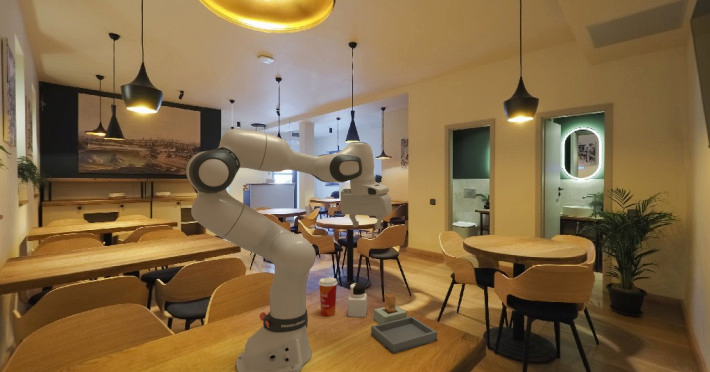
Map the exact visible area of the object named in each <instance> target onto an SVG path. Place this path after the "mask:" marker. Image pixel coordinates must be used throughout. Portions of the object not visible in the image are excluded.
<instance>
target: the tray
mask: <svg viewBox="0 0 710 372" xmlns="http://www.w3.org/2000/svg"><path fill="white" fill-rule="evenodd" d="M370 331H371V332H370V333H371V334H370V335H371V336H372V337H374V339H376V340H377V341H378V342H379V344H381V345H383V346H384V348H386V349H387V350H388V351H390V353H392V354H393V355H395V354H398V353H402V352H405V351H408V350H411V349H414V348H417V347H420V346H424V345H427V344H431V343H434V342H436V341H438V331H436V330H435V329H434V328H432V327H430V326H428V325H426V324H425V323H424V322H422V321H420V320H419V319H417V318H416V317H414V316H412V315H411V316H407V317H406V318H402V319H398V320H394V321H390V322H386V323H382V324H379V323H378V324H375V325H371V326H370Z"/></svg>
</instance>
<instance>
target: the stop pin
mask: <svg viewBox="0 0 710 372" xmlns="http://www.w3.org/2000/svg"><path fill="white" fill-rule="evenodd" d="M396 298H397V297H396V295H395V294H393V293H387V294H384V307H385V312H386V313H388V314H391V313H395V312H396V306H397V305H396V303H397V302H396Z"/></svg>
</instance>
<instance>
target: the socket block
mask: <svg viewBox="0 0 710 372" xmlns="http://www.w3.org/2000/svg"><path fill="white" fill-rule="evenodd" d="M407 314H408V313H407V311H406V310H404V309H403V308H401V307H400V306H398V305H396V312H395V313H391V314H388V313H386V312H385V306H383V307H378V308H374V309H373V320H374V321H375V322H377V323H378V324H382V323H386V322H390V321H394V320H398V319H402V318H406V317H408V315H407Z"/></svg>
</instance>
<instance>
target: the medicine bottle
mask: <svg viewBox="0 0 710 372" xmlns="http://www.w3.org/2000/svg"><path fill="white" fill-rule="evenodd" d="M349 290H350V291H349V296H348V299H347V316H348V317H352V318H353V317H354V318H355V317H359V318H366V316H367V309H368V307H367V306H368V301H367V300H368V299H367V298H368V294H367V293H366V285H365V284H363V283H361V282H355V283H352V284H350V289H349Z"/></svg>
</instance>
